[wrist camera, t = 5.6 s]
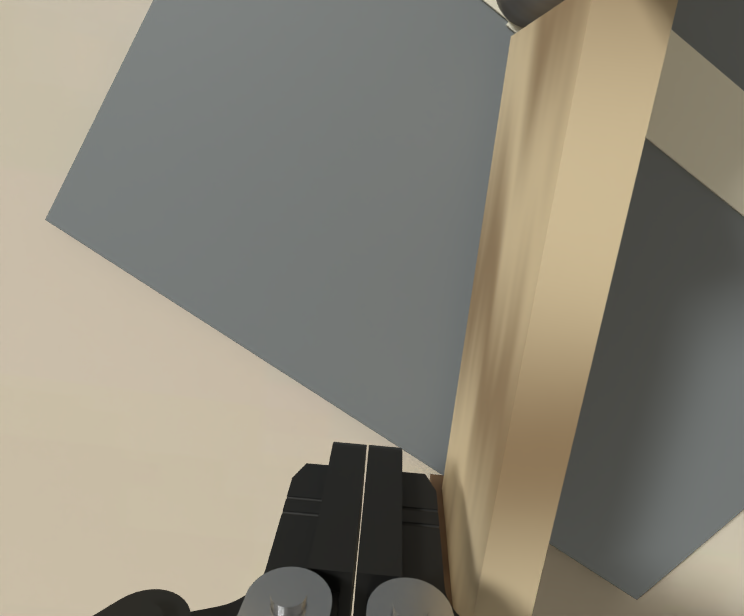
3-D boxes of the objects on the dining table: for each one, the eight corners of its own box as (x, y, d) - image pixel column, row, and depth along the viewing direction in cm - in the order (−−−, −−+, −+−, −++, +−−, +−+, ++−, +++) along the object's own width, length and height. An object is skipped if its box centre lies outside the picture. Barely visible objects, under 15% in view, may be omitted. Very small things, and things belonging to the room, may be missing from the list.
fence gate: (492, 38, 13) (590, -39, 6) (564, 44, 13) (746, -27, 6) (424, 518, 17) (435, 786, 10) (477, 524, 17) (523, 797, 10)
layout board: (778, -1241, 8) (802, -1325, 7) (1559, -194, 11) (1610, -207, 11) (54, 216, 16) (42, 220, 15) (636, 592, 19) (642, 605, 18)
